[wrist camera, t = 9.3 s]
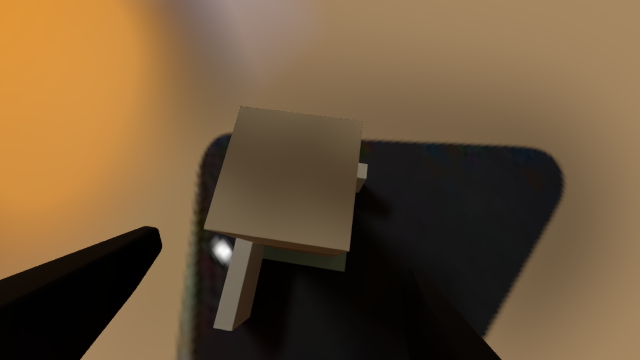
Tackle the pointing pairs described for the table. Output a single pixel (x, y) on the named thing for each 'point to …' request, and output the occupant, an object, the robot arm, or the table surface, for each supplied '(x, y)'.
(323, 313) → the table surface
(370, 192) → the table surface
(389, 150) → the table surface
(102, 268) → the robot arm
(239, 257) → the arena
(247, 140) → the maple block
